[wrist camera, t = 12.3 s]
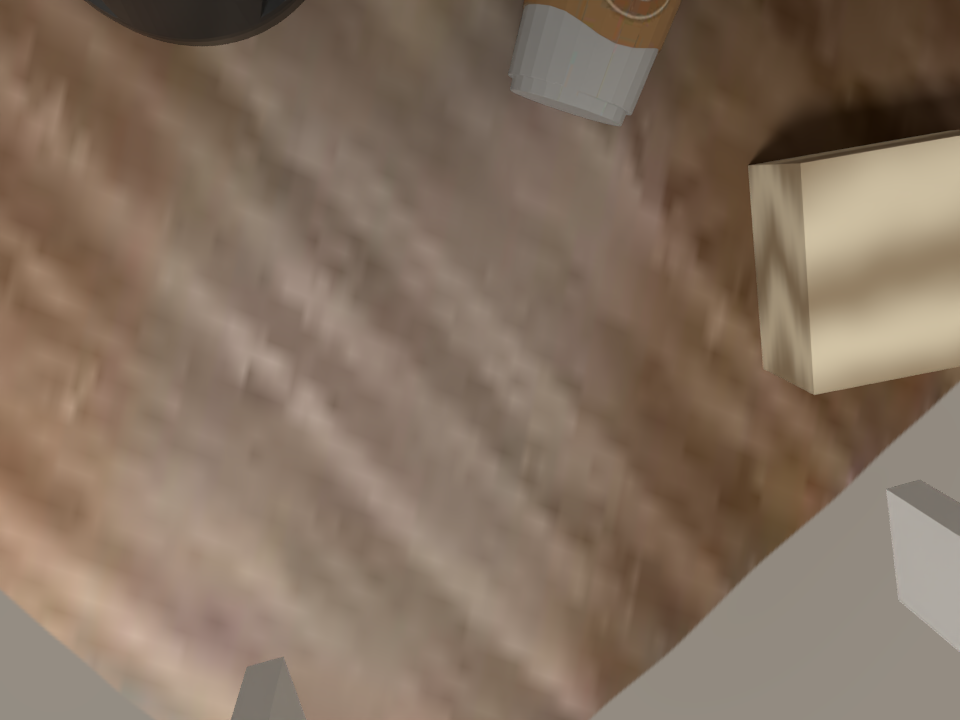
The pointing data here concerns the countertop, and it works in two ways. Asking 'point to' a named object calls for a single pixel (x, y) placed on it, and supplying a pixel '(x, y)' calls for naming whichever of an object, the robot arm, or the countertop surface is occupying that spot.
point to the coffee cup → (589, 54)
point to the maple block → (859, 262)
